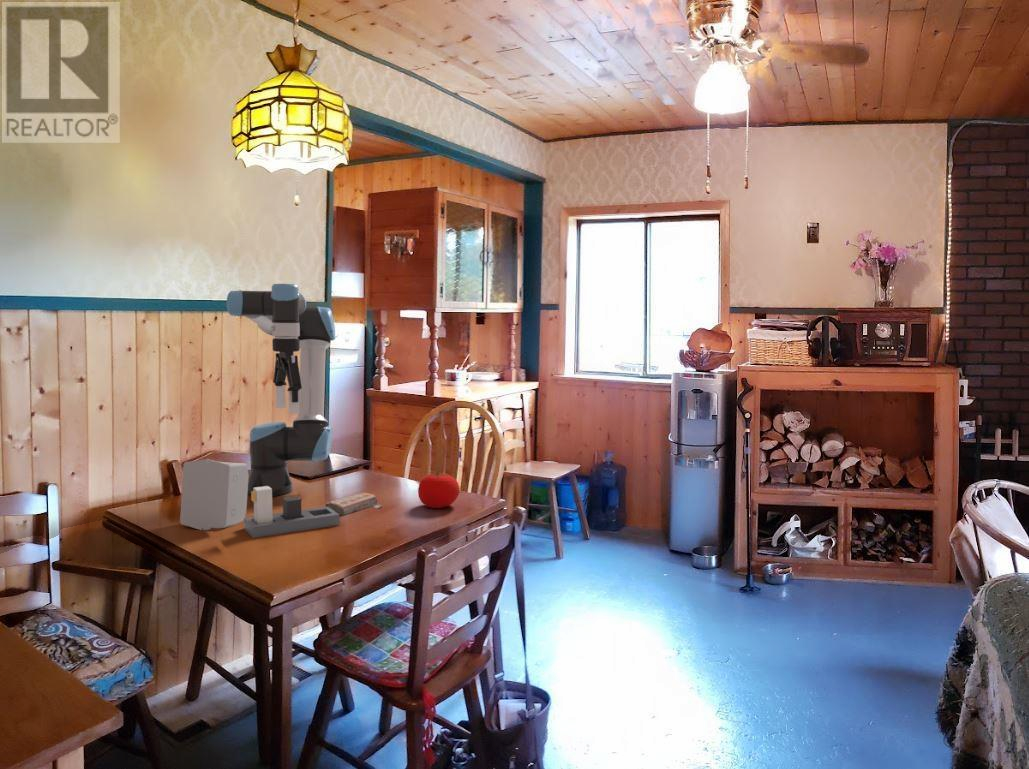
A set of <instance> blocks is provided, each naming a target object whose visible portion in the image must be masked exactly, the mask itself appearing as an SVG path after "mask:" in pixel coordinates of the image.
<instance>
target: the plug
mask: <svg viewBox="0 0 1029 769" xmlns="http://www.w3.org/2000/svg"><path fill="white" fill-rule="evenodd" d="M250 496H251V498H250V499H251V501H252V502H253V517H254V523H255V524H259V523H266V522H273V515H272V514H273V496H272V489H271V488H270V487H269V486H263V487H255V488H253V491H251V495H250Z"/></svg>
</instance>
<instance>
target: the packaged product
mask: <svg viewBox="0 0 1029 769" xmlns="http://www.w3.org/2000/svg"><path fill="white" fill-rule="evenodd" d="M377 503H378V500H377V495H375V494H374V493H368V492H359V493H357V494H353V495H348V496H345V497H341V498H337V499H333V500H331V501H328V502H326V504H325V507H329V508H331V509H332V510H334V511H335V512H336V513H338V514H339V516H340V515H341V516H345V515H350V514H352V513H355V512H359V511H361V510H364V509H367V508H368V509H369V508H370V507H374V508H375V509H378V508H380V507H382V508H383V505H381V504H377ZM380 509H381V508H380ZM378 510H379V509H378Z"/></svg>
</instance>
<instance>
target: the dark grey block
mask: <svg viewBox="0 0 1029 769" xmlns="http://www.w3.org/2000/svg"><path fill="white" fill-rule="evenodd" d="M301 510H302V499H301V498H300V497H299V496H291V497H288V496H287V497H283V498H282V513H283V518H284V519H285V520H288V519H295V518H301Z"/></svg>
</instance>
